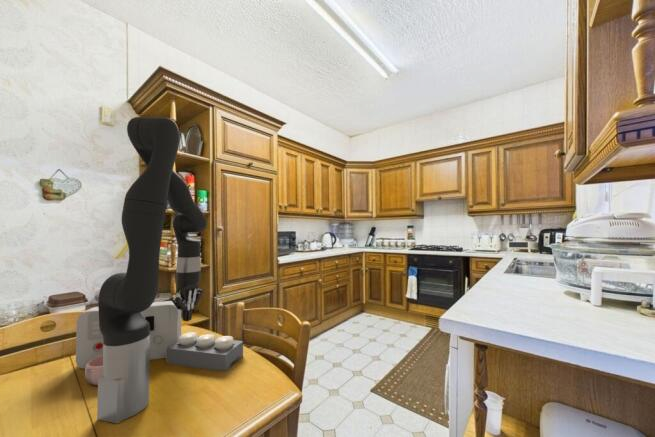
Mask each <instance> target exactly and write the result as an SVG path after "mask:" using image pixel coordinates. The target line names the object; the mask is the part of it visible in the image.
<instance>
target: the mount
mask: <svg viewBox="0 0 655 437" xmlns="http://www.w3.org/2000/svg"><path fill="white" fill-rule="evenodd" d="M198 337H199V336H198V335H197V338H198ZM217 338H218V337H217ZM217 338H216V337H215V340H216V339H217ZM243 357H244V341H243V340H236V339H233V346H231V348H229V349H228V350H227V351H224V350H218V349H216V348H215V343H214V344H213V345H212V346H210V347H209V348H199V347H198V346H197V341H196V342H195V343H194V344H192V345H191V346H182V345H180V344H179V341H178V342H176V343H175V344H173V345H171V346H169V347H167V354H166V359H165V360H166V362H165V363H166V364H169V365H176V366H182V367H190V368H197V369H206V370H211V371H219V372H220V371H221V372H227V371H228V370H229V369H230V368H231V367H232V366H234V364H236V363H237V362H238V361H239V360H240V359H241V358H243Z"/></svg>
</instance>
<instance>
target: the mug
mask: <svg viewBox="0 0 655 437" xmlns="http://www.w3.org/2000/svg"><path fill="white" fill-rule="evenodd" d="M84 376H85V379H86V380H87V381H88V383H89V384H91V385H94V386H96V385H97V386H98V379H99V378H100V377H101V376H103V355H100V356H98V357H95V358H93V359H92V360H90V361H89V362H88V363H87V364H86V367H85V368H84Z"/></svg>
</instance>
